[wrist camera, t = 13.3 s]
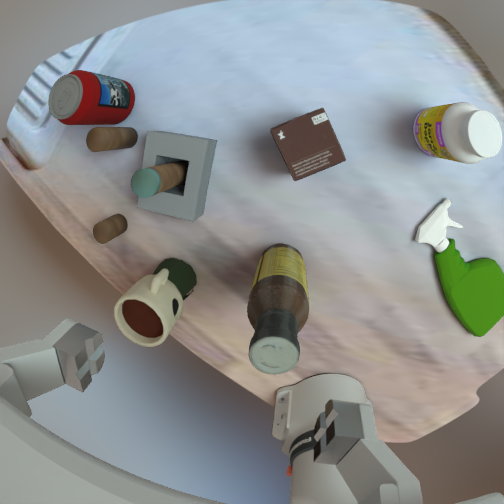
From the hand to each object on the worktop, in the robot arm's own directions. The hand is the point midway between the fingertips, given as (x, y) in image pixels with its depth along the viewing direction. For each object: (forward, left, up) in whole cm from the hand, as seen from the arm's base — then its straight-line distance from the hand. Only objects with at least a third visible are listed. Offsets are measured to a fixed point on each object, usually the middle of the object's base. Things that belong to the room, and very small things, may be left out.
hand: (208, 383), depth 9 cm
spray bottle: (-2, -31, -32) cm, 45 cm away
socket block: (+1, +13, -31) cm, 34 cm away
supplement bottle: (+15, -18, -31) cm, 39 cm away
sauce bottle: (-8, -3, -31) cm, 32 cm away
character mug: (-14, +11, -31) cm, 36 cm away
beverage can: (+9, +25, -31) cm, 41 cm away
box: (+8, -2, -31) cm, 32 cm away
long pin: (+1, +13, -31) cm, 34 cm away
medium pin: (+4, +22, -31) cm, 38 cm away
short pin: (-9, +22, -31) cm, 39 cm away
